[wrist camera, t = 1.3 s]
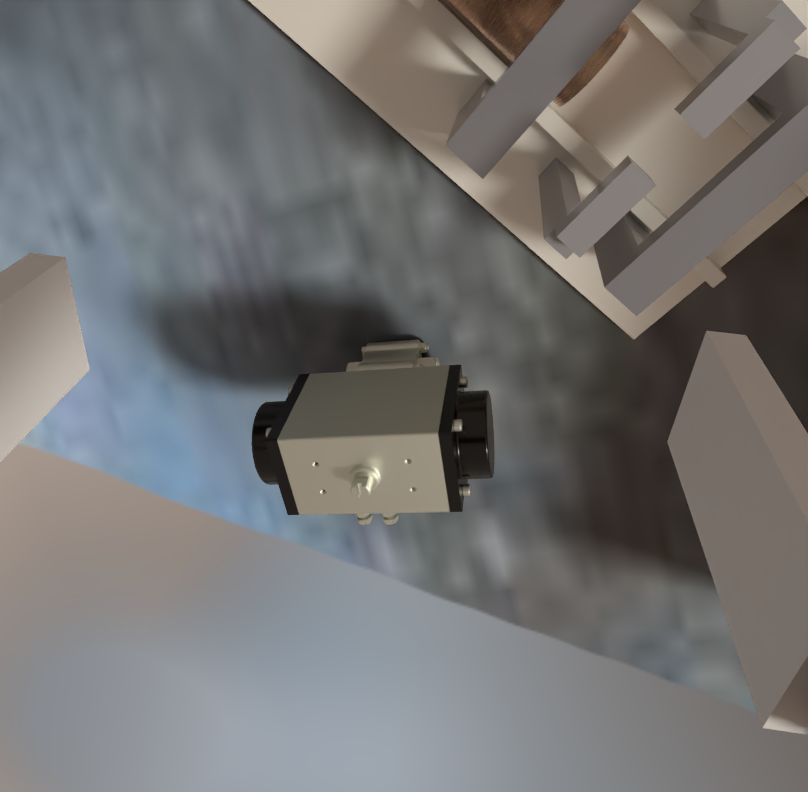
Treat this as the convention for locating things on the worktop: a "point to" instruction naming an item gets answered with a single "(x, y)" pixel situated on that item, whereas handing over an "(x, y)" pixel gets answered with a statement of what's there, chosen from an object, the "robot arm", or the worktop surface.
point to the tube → (532, 34)
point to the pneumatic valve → (377, 437)
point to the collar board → (594, 127)
